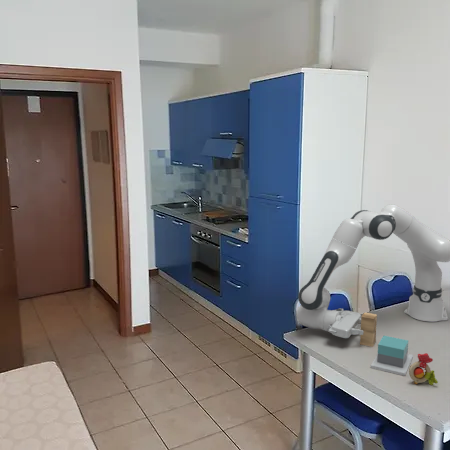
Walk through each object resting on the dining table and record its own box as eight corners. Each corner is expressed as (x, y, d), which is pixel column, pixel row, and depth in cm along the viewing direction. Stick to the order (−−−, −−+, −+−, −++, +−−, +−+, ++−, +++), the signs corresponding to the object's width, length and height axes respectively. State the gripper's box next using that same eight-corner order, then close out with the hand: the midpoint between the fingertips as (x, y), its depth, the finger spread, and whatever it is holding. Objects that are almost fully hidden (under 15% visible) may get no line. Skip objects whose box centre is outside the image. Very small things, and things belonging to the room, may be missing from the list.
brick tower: (380, 350, 184) (381, 331, 182) (413, 357, 178) (414, 337, 176) (370, 367, 170) (371, 347, 169) (405, 375, 164) (406, 354, 163)
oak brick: (363, 339, 193) (364, 312, 191) (375, 342, 191) (377, 314, 189) (360, 344, 189) (361, 316, 187) (372, 347, 187) (374, 318, 184)
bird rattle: (420, 394, 156) (444, 382, 157) (409, 366, 154) (434, 355, 154) (411, 384, 163) (434, 373, 163) (400, 358, 160) (424, 346, 160)
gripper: (325, 323, 187) (360, 330, 180) (341, 306, 204) (373, 312, 197) (325, 337, 188) (359, 345, 181) (340, 320, 205) (372, 326, 198)
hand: (366, 328), depth 189 cm, fingers open, 8 cm apart
